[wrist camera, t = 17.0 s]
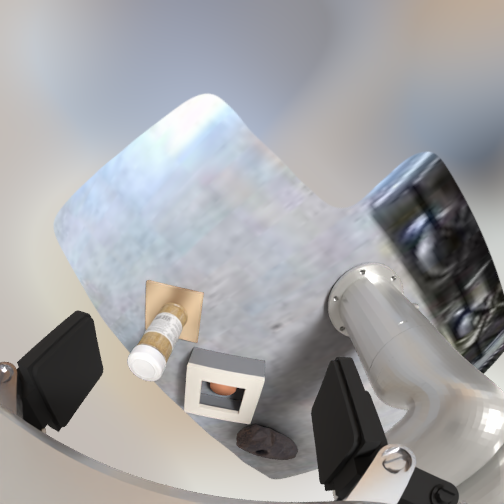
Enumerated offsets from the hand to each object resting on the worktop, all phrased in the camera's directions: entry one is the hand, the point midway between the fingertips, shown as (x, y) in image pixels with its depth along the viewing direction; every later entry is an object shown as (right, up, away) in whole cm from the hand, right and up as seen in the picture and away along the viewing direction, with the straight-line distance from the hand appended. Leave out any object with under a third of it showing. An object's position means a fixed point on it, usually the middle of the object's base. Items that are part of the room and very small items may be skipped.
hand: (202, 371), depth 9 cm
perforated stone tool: (+6, -35, +40) cm, 53 cm away
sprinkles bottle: (-10, -5, +31) cm, 33 cm away
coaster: (-11, -5, +32) cm, 34 cm away
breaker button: (-3, -18, +35) cm, 40 cm away
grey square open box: (-3, -18, +35) cm, 40 cm away
